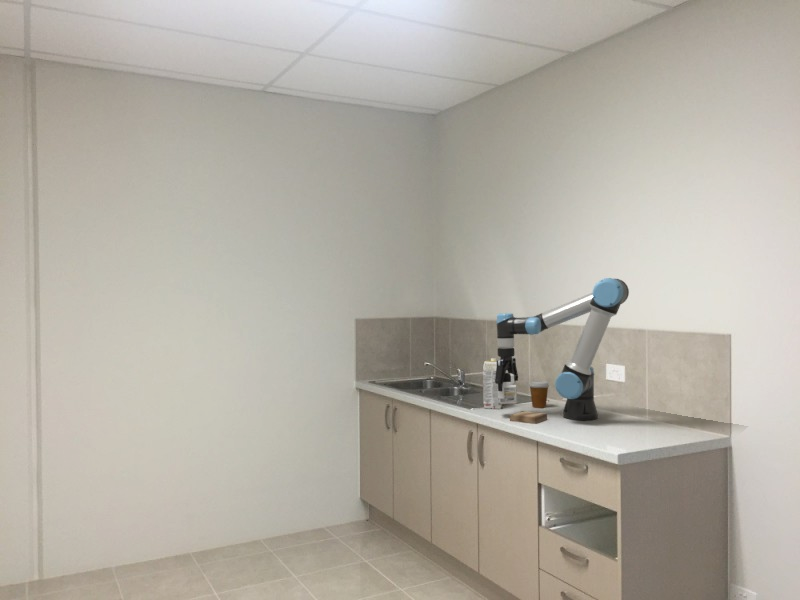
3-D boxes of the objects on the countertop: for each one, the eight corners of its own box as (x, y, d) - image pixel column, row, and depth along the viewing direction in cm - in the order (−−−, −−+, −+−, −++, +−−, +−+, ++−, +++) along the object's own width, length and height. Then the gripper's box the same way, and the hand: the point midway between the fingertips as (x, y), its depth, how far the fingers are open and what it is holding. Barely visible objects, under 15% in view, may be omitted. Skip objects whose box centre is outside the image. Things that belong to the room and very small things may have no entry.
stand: (547, 419, 307) (547, 413, 307) (535, 423, 298) (535, 417, 298) (522, 416, 315) (522, 410, 315) (509, 420, 305) (509, 414, 305)
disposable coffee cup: (525, 405, 344) (525, 381, 343) (543, 405, 346) (543, 380, 346) (534, 409, 334) (534, 384, 334) (552, 408, 337) (552, 383, 336)
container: (499, 403, 311) (498, 374, 311) (498, 401, 319) (497, 372, 319) (517, 403, 310) (516, 374, 310) (515, 400, 318) (514, 372, 318)
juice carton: (503, 407, 341) (503, 357, 340) (501, 409, 333) (501, 359, 333) (484, 406, 343) (484, 357, 343) (482, 409, 336) (482, 359, 335)
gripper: (510, 345, 326) (511, 393, 326) (485, 349, 308) (487, 399, 308) (524, 345, 321) (526, 394, 322) (501, 349, 303) (502, 400, 303)
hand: (507, 396), depth 315 cm, fingers closed on container, 10 cm apart
